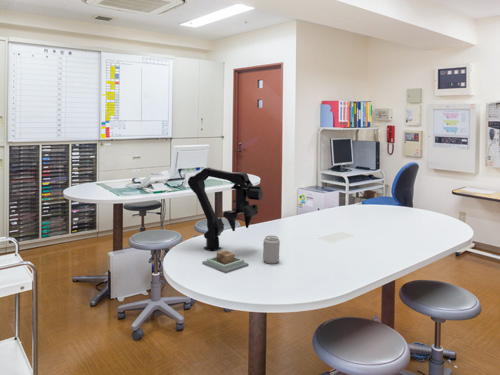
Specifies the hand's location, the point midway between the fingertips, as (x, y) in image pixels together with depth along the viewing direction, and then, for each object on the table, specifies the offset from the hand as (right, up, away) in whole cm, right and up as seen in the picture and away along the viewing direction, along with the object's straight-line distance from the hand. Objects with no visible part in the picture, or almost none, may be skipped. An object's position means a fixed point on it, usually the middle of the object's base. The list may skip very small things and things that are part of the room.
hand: (240, 229), depth 205 cm
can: (+15, -14, -10) cm, 23 cm away
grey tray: (-7, -15, -16) cm, 22 cm away
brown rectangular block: (-6, -14, -16) cm, 22 cm away
